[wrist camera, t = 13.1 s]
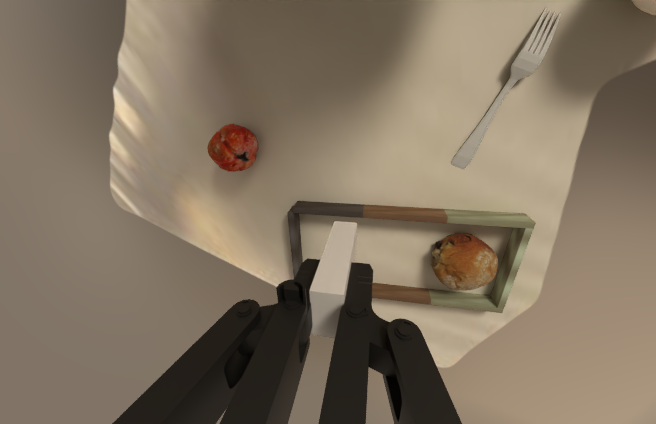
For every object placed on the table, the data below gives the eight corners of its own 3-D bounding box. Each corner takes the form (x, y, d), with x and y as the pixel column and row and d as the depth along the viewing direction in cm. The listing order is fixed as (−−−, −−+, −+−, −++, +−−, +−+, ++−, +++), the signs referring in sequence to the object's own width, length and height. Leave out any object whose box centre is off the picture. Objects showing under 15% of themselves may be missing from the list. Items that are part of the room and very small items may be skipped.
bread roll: (440, 268, 51) (460, 306, 45) (414, 249, 45) (433, 289, 40) (488, 242, 47) (517, 281, 41) (466, 218, 41) (496, 258, 36)
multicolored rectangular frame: (292, 200, 47) (287, 207, 44) (525, 213, 40) (535, 222, 37) (299, 278, 54) (295, 288, 52) (495, 300, 48) (502, 313, 45)
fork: (444, 159, 41) (447, 166, 39) (543, 1, 30) (556, -4, 27) (460, 166, 41) (464, 173, 39) (566, 9, 30) (581, 6, 27)
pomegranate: (232, 156, 48) (256, 188, 43) (191, 146, 42) (213, 181, 37) (249, 120, 45) (276, 150, 40) (208, 104, 39) (234, 136, 34)
